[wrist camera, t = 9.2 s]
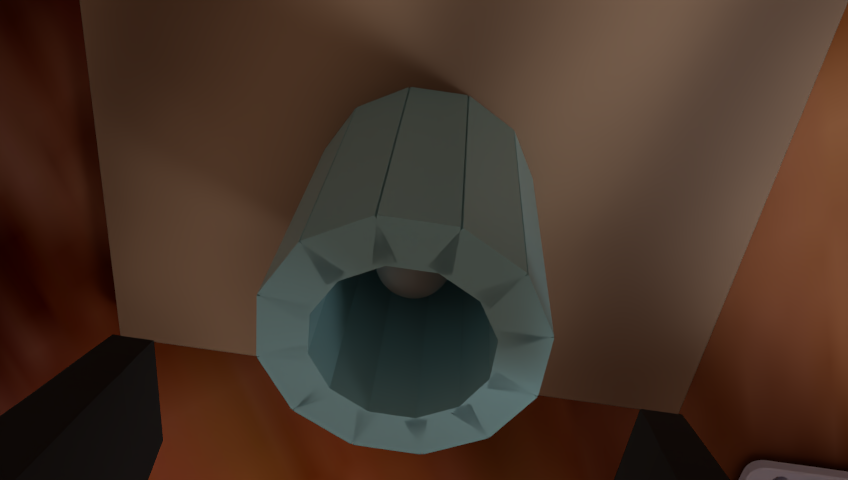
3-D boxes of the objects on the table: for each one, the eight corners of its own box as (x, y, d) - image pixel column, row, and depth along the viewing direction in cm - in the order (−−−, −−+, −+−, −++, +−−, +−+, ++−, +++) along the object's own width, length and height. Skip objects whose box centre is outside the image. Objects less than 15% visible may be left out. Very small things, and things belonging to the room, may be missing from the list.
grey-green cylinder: (549, 106, 16) (579, 243, 11) (508, 288, 19) (518, 468, 14) (328, 74, 16) (257, 197, 11) (318, 261, 19) (255, 430, 14)
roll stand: (836, -32, 15) (974, 29, 11) (669, 390, 21) (717, 535, 17) (86, -137, 15) (-68, -116, 11) (135, 315, 21) (48, 442, 17)
